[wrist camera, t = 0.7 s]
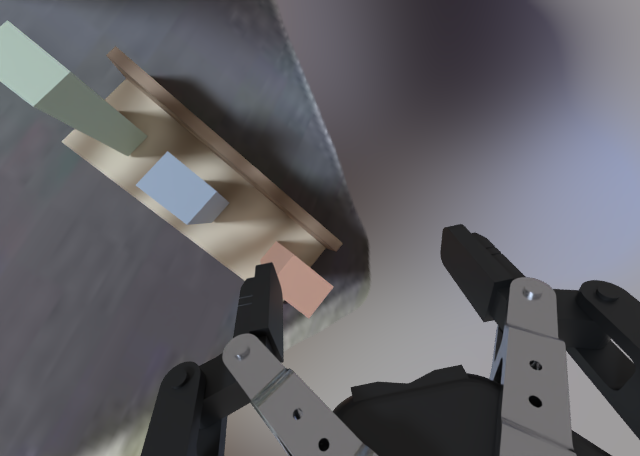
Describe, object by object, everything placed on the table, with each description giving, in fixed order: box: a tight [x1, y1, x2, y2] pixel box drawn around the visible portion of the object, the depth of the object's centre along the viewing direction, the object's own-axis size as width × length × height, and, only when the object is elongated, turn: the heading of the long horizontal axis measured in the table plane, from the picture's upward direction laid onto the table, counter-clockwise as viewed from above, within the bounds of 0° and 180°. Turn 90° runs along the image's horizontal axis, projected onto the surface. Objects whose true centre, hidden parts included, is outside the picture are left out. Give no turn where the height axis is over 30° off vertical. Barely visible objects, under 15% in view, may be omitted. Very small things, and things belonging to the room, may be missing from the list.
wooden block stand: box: [62, 46, 343, 301], centre depth 31 cm, size 29×10×6 cm, turn 50°
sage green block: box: [0, 20, 148, 156], centre depth 24 cm, size 4×3×14 cm
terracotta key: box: [260, 241, 333, 318], centre depth 28 cm, size 4×3×14 cm
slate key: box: [136, 151, 229, 225], centre depth 26 cm, size 4×3×14 cm
